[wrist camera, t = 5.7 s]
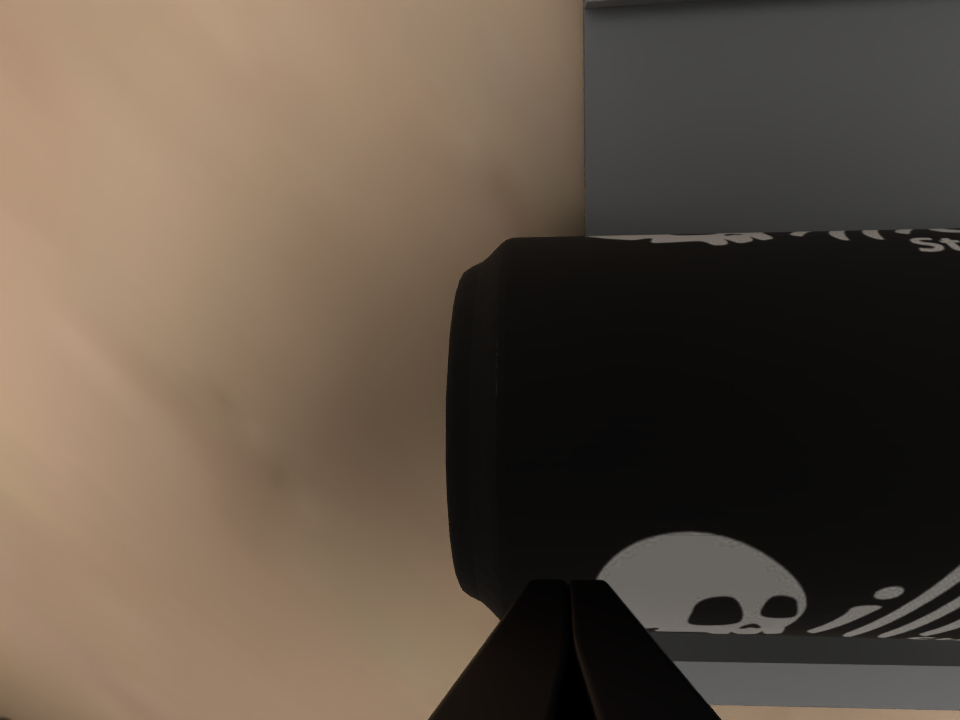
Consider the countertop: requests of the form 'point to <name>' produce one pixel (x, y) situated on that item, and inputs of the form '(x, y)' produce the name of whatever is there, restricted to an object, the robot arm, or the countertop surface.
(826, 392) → the beverage can
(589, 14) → the grey tray
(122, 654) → the countertop surface
